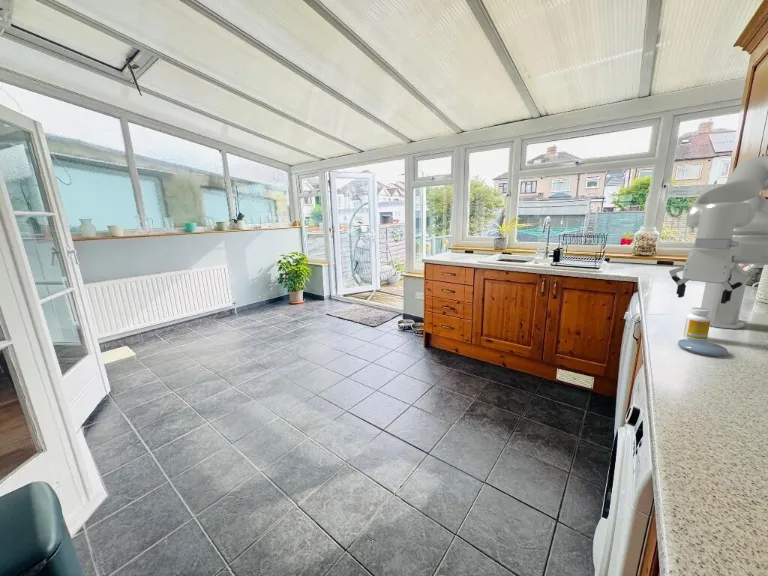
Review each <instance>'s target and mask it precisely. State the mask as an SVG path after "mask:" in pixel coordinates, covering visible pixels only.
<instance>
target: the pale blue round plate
mask: <svg viewBox="0 0 768 576" xmlns="http://www.w3.org/2000/svg"><path fill="white" fill-rule="evenodd" d="M677 345H678V347H679V348H681V349H684V350H685V351H687V352H690V353H693V354H696V355H701V356H707V357H719V356H722V357H723V356H725V355H727V353H728V349H727V348H726V347H725V346H723V345H720V344H717V343H715V342H710V341H707V340H705V341H701V340H694V339H688V338H684V339H683V338H682V339H679V340H678V342H677Z"/></svg>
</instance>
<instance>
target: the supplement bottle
mask: <svg viewBox="0 0 768 576" xmlns="http://www.w3.org/2000/svg"><path fill="white" fill-rule="evenodd" d="M708 314H709V310H708V309H704V308H701V307H691V309H690V313H689V314H687V316H686V319H685V325H684V331H683V337H684V338H685V339H694V340H701V341H707V340H708V336H709V332H710V331H709V330H710V327H711V326H710V321H711V319H710V317H708V316H707V315H708Z"/></svg>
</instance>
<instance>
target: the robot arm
mask: <svg viewBox="0 0 768 576" xmlns="http://www.w3.org/2000/svg"><path fill="white" fill-rule="evenodd" d="M761 191H768V155H764V156H756V157H751V158H747V159H745V160H743V161H741V162H740V163H739V164H737V166H736V167H735V168H734V170H733V171H732V172H731V175H730V176H729V178H728V180H727V181H726V182H725V183H723V184H721V185H718V186H716V187H714V188H712V189H709V190H707V191H704V193H702V194H700V195H699V196H698V197H697V198H696V199H695V200H694V202H693V203H692V205H691V206H690V208H689V209H688V212H687V214H686V222H687V225H689V226H690V227H692V228H697V230H696V231H697V232H696V235H695V242H694V247H693V248H690V250H689V253H688V255H687V258H686V261H685V264H684V266H681V267H677V268H674V269H671V270H669V271H668V273H669V274H670V277H671V279H672V280H673V281H674V282H675V283H676V285H677V288H676V295H677V298H679V299H680V298H683V297H685V292H686V287H687V285H686V283H688V282H689V281H691V282H703V283H705V285H704V290H703V295H702V300H701V304H700V308H704V309H708V310H709V314H708V315H707V316H708V317H710V319H711V321H710V326H709V327H713V328H714V327H715V328H721V329H732V330H733V329H734V330H735V329H742V328H744V327H745V323H744V322H743V321H741V320H739V317H740V314H741V309H742V305H743V301H744V296H745V290H746V288H747V287H746V285H747V282H748V281H749V280H750V276H748V275H747V273H746V271H745V270H744V269H743V268H742V267H741V266H740V265H744V264H745V265H761V266H768V199H766V197H764V196H763V195H762V194H760V192H761ZM681 272H682V278H680V277H679V276H678V273H681Z"/></svg>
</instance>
